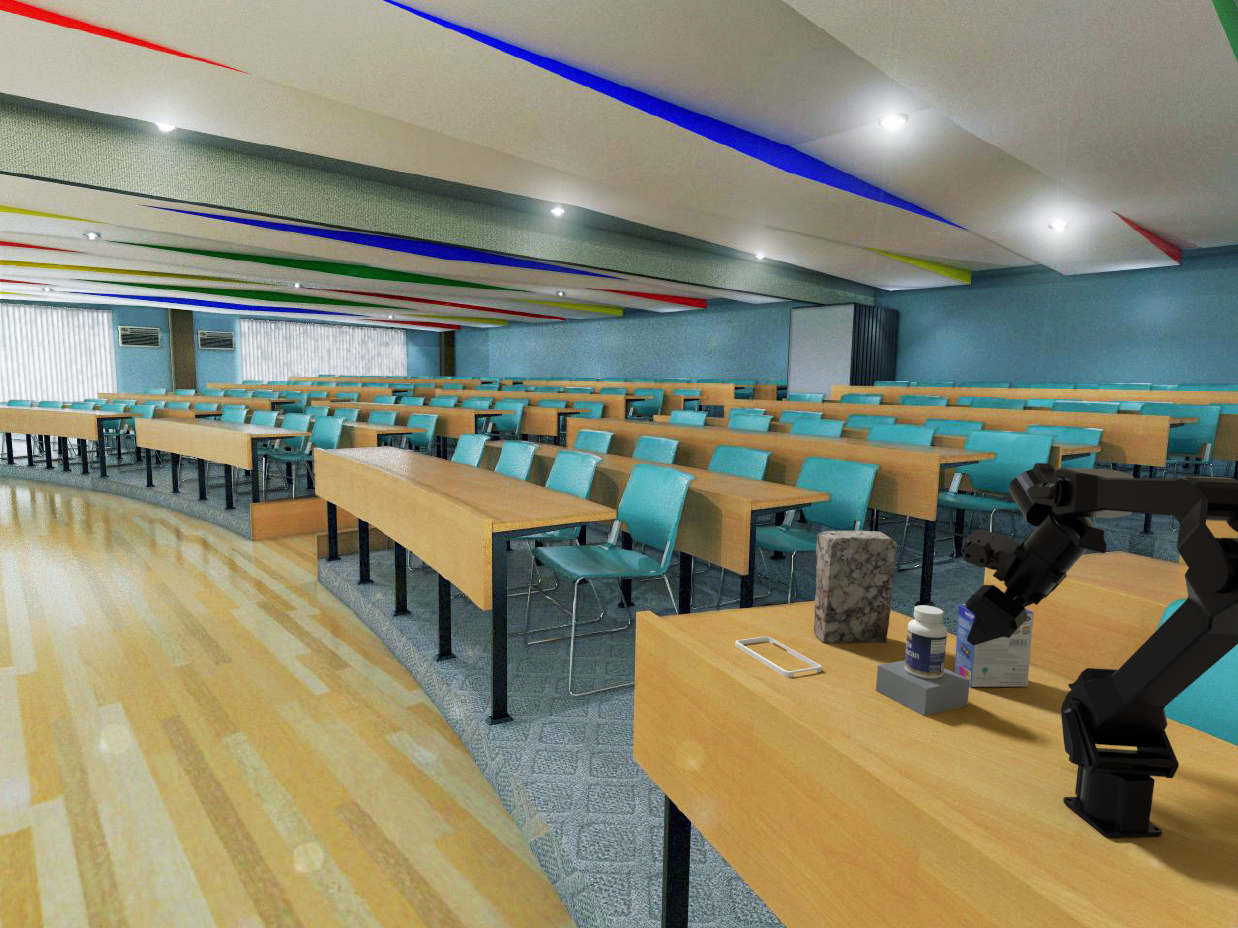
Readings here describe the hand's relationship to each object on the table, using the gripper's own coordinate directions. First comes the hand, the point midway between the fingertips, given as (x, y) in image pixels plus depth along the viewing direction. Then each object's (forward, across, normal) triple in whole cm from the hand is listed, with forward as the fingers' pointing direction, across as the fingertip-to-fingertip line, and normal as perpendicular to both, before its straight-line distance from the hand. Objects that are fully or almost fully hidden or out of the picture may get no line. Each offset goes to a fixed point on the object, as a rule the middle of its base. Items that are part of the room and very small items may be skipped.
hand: (984, 628), depth 97 cm
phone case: (+26, +8, -20) cm, 34 cm away
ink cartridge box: (+16, -12, +5) cm, 21 cm away
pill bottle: (+12, +2, -2) cm, 12 cm away
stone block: (+28, -11, -16) cm, 34 cm away
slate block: (+15, +3, 0) cm, 15 cm away
